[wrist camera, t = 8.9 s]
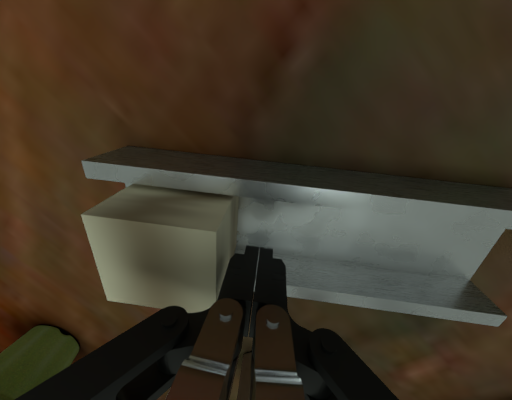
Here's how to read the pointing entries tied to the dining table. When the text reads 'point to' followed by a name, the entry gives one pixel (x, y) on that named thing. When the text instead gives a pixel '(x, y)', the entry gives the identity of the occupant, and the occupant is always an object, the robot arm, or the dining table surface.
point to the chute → (345, 227)
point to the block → (163, 245)
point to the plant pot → (34, 360)
